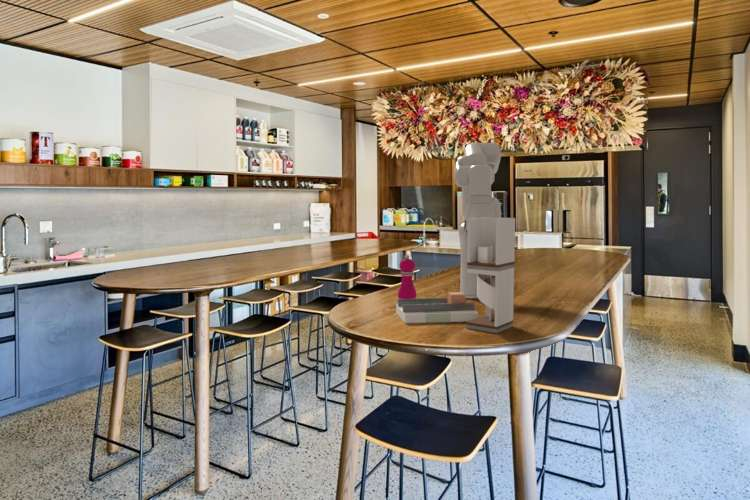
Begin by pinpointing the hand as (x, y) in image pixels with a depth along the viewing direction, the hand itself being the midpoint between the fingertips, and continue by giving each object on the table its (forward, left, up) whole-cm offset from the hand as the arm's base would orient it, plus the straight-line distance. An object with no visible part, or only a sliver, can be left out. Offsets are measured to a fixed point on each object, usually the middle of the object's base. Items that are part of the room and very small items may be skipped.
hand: (478, 253), depth 186 cm
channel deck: (+15, 0, -22) cm, 27 cm away
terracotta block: (+8, 0, -19) cm, 21 cm away
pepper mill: (+22, -19, -22) cm, 37 cm away
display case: (+2, +18, -22) cm, 29 cm away
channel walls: (+15, 0, -19) cm, 25 cm away
